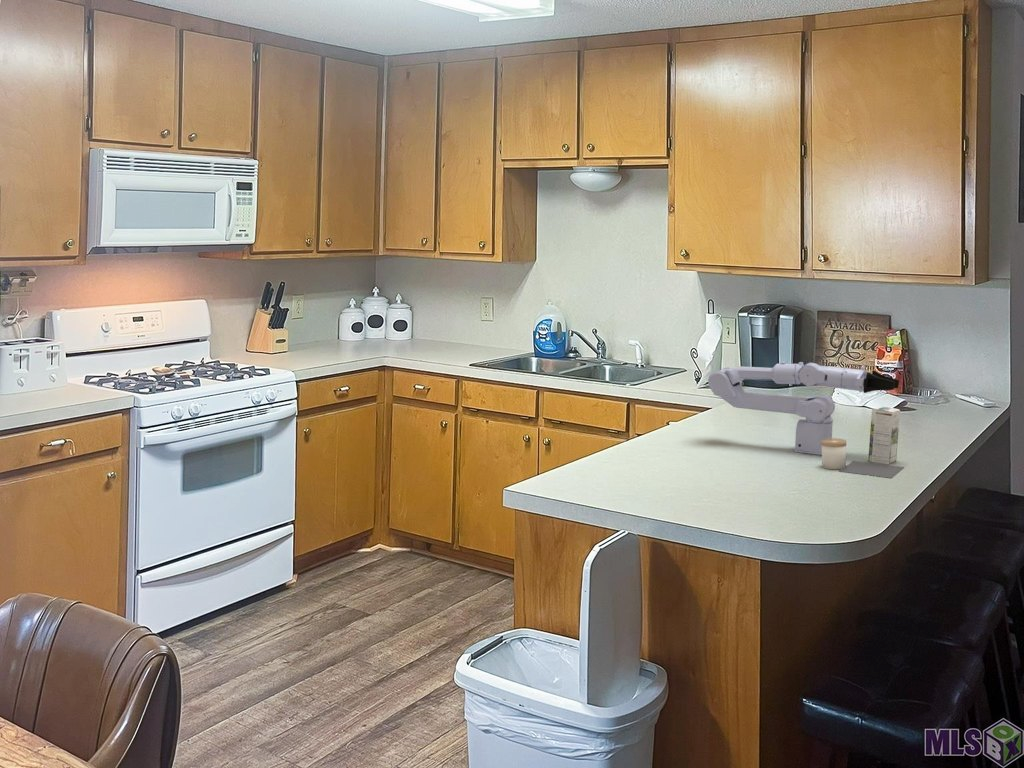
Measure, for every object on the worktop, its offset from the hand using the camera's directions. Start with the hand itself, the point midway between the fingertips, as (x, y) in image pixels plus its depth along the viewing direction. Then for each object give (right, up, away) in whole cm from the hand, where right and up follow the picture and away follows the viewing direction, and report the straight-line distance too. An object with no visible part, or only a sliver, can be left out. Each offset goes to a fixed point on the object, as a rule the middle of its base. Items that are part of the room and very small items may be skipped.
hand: (896, 385), depth 264 cm
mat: (-10, -22, -8) cm, 25 cm away
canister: (-18, -21, -5) cm, 29 cm away
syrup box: (-3, -21, +1) cm, 21 cm away
